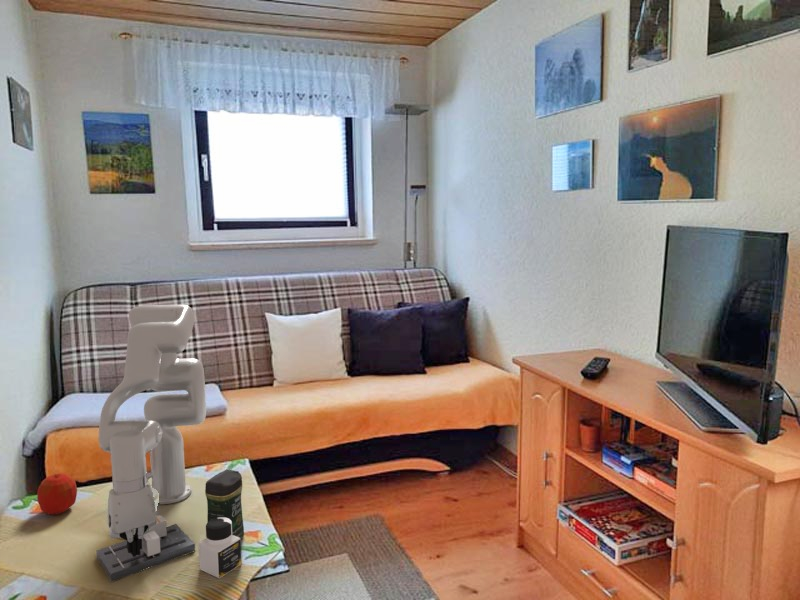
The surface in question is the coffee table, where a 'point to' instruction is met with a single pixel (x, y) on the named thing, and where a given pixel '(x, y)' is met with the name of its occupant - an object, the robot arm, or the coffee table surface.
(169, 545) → the console
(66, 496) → the apple
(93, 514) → the coffee table surface
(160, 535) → the fader
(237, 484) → the coffee jar
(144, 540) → the fader
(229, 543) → the medicine bottle
